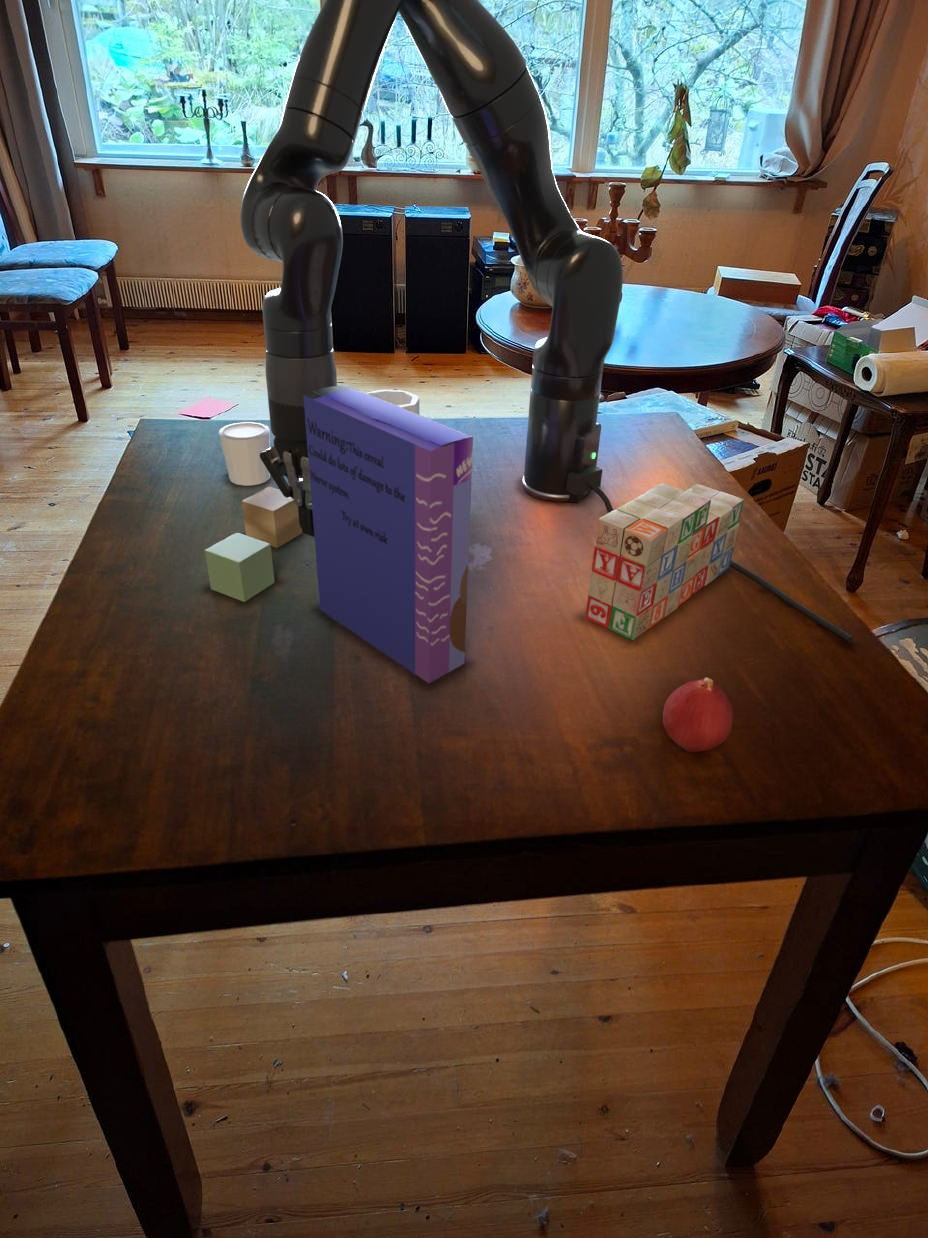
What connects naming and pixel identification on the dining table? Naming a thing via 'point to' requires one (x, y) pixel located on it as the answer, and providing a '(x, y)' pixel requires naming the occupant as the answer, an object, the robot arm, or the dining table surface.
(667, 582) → the stack of blocks
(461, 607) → the cereal box
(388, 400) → the mug
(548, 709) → the dining table surface
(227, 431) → the white cup
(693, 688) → the onion
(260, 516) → the birch block
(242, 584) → the sage block
